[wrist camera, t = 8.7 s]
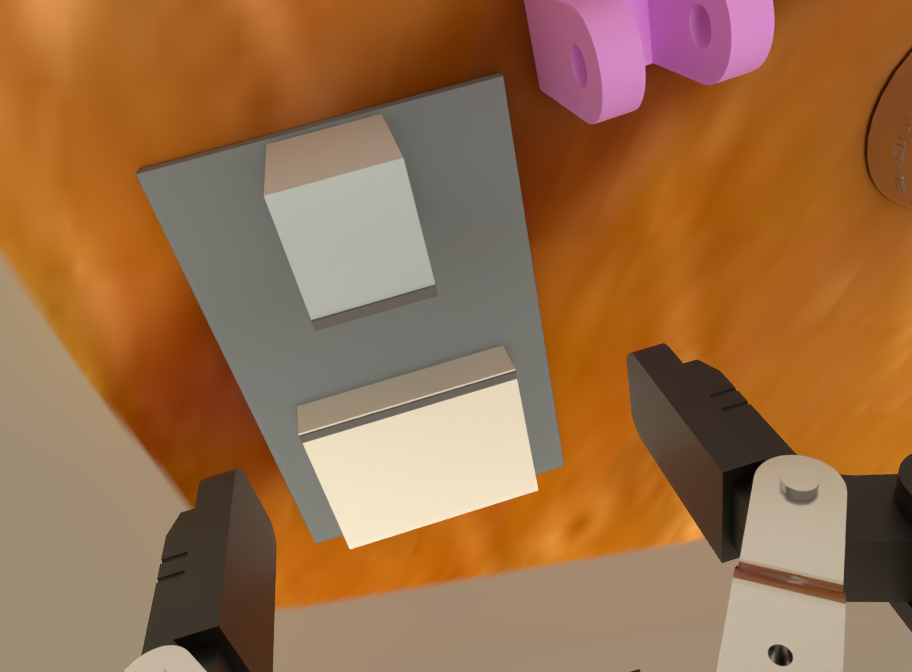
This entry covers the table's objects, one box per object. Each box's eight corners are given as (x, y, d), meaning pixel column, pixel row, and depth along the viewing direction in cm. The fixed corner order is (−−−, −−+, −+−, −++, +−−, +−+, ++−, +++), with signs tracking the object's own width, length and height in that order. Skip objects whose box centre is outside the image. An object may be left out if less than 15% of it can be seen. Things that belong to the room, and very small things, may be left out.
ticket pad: (498, 72, 26) (519, 88, 24) (560, 458, 38) (577, 493, 36) (138, 169, 25) (125, 194, 23) (315, 535, 37) (317, 575, 35)
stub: (381, 113, 26) (403, 158, 21) (412, 233, 28) (438, 295, 24) (266, 144, 25) (263, 197, 21) (309, 262, 28) (315, 331, 24)
